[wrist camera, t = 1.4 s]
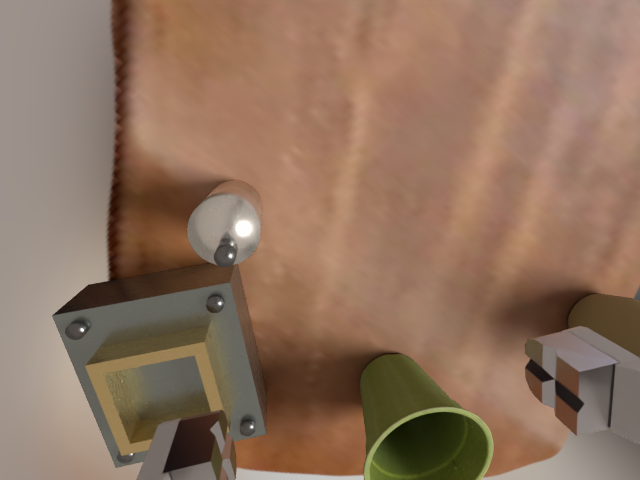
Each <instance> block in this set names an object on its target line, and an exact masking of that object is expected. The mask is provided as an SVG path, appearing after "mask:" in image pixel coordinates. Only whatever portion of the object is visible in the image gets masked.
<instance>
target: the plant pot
mask: <svg viewBox="0 0 640 480" xmlns="http://www.w3.org/2000/svg"><path fill="white" fill-rule="evenodd" d="M360 393H361V400H362V408H363V416H364V424H365V431H366V459H365V463H364V471H363V472H364V480H481V479H482V477H483V476H484V474H485V473H486V472H487V470H488V468H489V466H490V463H491V459H492V455H493V439H492V435H491V432H490V430H489V428H488V426H487V425H486V424H485V423H484V421H483V420H482V419H480V418H479V417H478V416H477V415H475V414H474V413H472V412H470V411H468V410H465V409H463V408H462V407H461V406H460V405H459V404H458V403H457V402H455V401H454V400H452V399H451V398H450V397H449V396H448V395H447V394H446V393H445V392H444V391H443V390H442V389H441V388H440V387H439V386H438V385H437V384H436V383H435V382H434V381H433V380H432V379H431V378H430V377H429V376H428V375H427V374H426V373H425V372H424V371H423V370H422V369H421V367H420V366H419V365H418V364H417V363H416V362H415V361H414V360H413V359H411V358H410V357H408V356H406V355H403V354H394V355H383V356H380V357H378V358H376V359H375V360H373V361H372V362H371V363H370V364H368V366H367V367H366V368H365V369H364V371H363V373H362V375H361V379H360Z"/></svg>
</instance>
